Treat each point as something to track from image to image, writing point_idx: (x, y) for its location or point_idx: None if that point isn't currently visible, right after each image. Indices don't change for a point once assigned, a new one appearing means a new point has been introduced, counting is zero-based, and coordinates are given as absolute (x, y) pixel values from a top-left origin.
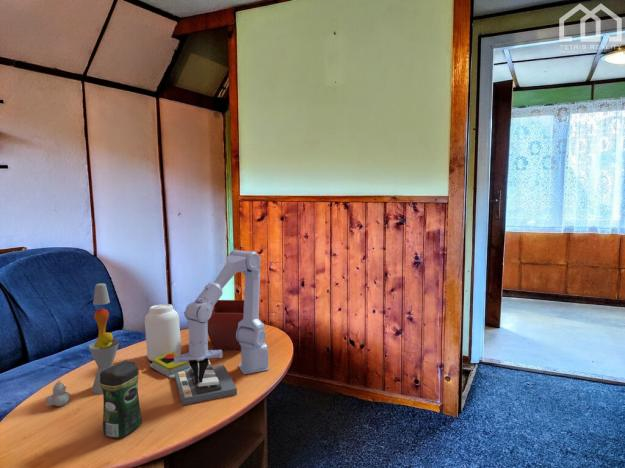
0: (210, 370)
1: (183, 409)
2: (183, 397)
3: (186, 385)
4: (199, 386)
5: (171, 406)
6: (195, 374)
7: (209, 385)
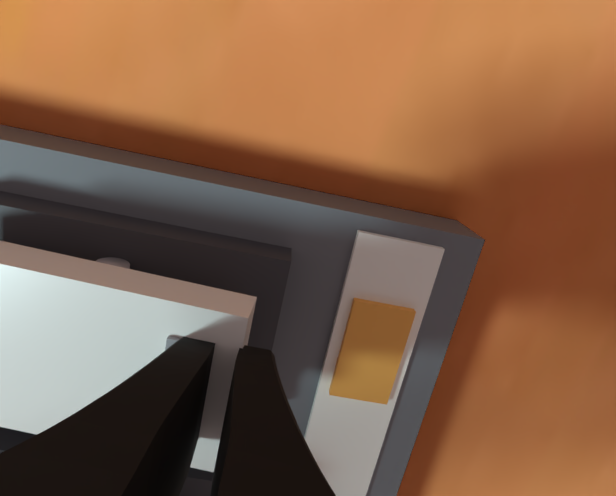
0: None
1: (481, 127)
2: (452, 262)
3: None
4: None
5: (543, 259)
6: (290, 453)
7: None
